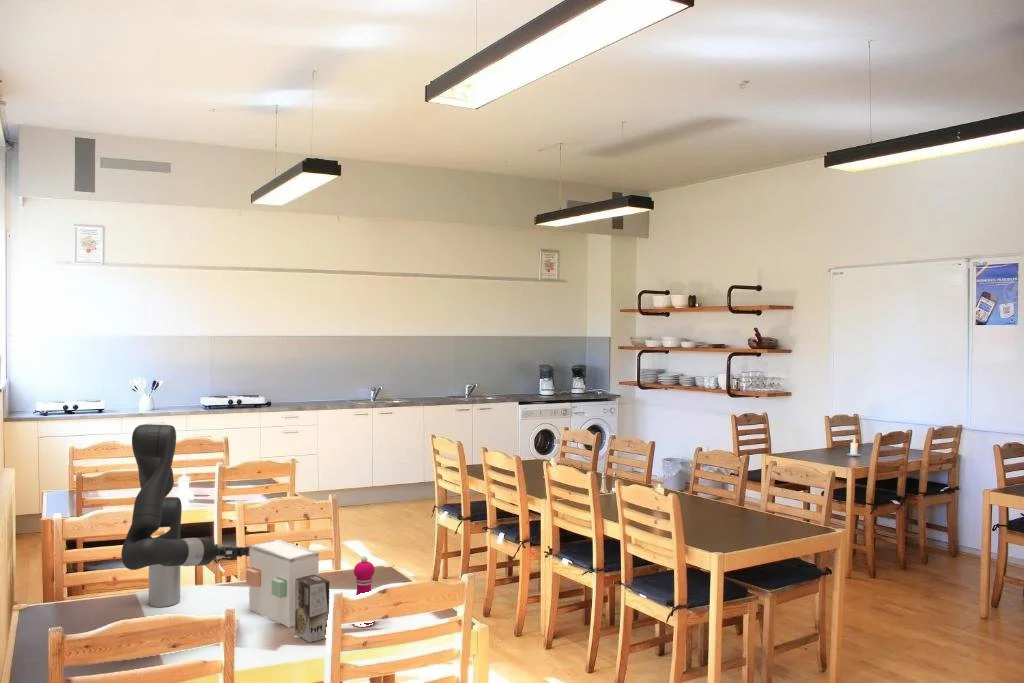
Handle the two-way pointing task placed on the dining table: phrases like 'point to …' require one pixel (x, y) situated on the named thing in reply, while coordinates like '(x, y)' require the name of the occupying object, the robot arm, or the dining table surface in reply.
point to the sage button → (279, 587)
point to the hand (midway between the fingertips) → (237, 550)
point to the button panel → (283, 564)
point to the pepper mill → (364, 577)
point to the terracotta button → (254, 577)
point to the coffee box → (311, 607)
